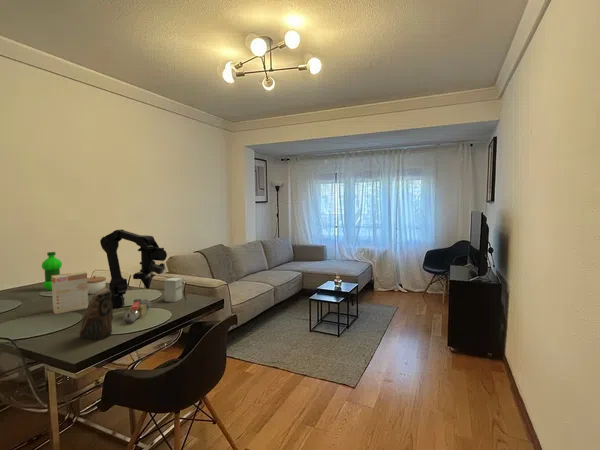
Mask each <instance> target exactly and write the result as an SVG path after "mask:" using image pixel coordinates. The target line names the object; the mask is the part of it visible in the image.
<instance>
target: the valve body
mask: <svg viewBox="0 0 600 450" xmlns="http://www.w3.org/2000/svg"><path fill="white" fill-rule="evenodd" d="M141 301H142V304H141V305H139V307H138V309H137V310H132V311H131V307H132V306H130V307H129V308H128V311H126V312H125V313H124V314H123V315H122V320H123V322H124V323H125V324H127V325H129V324H132V323H134V322H135V321H136V320H137V319H142V318H144V317H145V316H146V315H147V310H149V309H150V308H151V306H152V302H151V300H149V299H146V298H144V299H143V300H142V299H141ZM145 314H146V315H145ZM144 315H145V316H144Z"/></svg>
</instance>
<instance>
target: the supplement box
mask: <svg viewBox="0 0 600 450" xmlns="http://www.w3.org/2000/svg"><path fill="white" fill-rule="evenodd" d="M163 282H164V301H165V302H171V303H172V302H173V303H176V302H178V301H180V300H182V299H183V278H182V277H170V278H166V279H165V280H164V281H163Z"/></svg>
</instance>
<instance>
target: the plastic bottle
mask: <svg viewBox="0 0 600 450" xmlns="http://www.w3.org/2000/svg"><path fill="white" fill-rule="evenodd" d="M46 255H47V256H48V257H47V258H46V259H44V261H42V263H41V268H42V270H43V271H44V282H43V285H42V286H43V288H45V289H46V290H47V291H50V292H52V278H51V276H52V275H60V274H61V268H62V266H63V265H62V264H63V263H62V261H61V260H60V259H59V258H57V257H56V251H50V252H47V254H46Z"/></svg>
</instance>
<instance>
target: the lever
mask: <svg viewBox="0 0 600 450" xmlns="http://www.w3.org/2000/svg"><path fill="white" fill-rule="evenodd" d="M141 304H142V299H139V298H136V299H133V303H132V305H131V306H130V307H131V311H132V310H137V309H138V307H139V305H141Z"/></svg>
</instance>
